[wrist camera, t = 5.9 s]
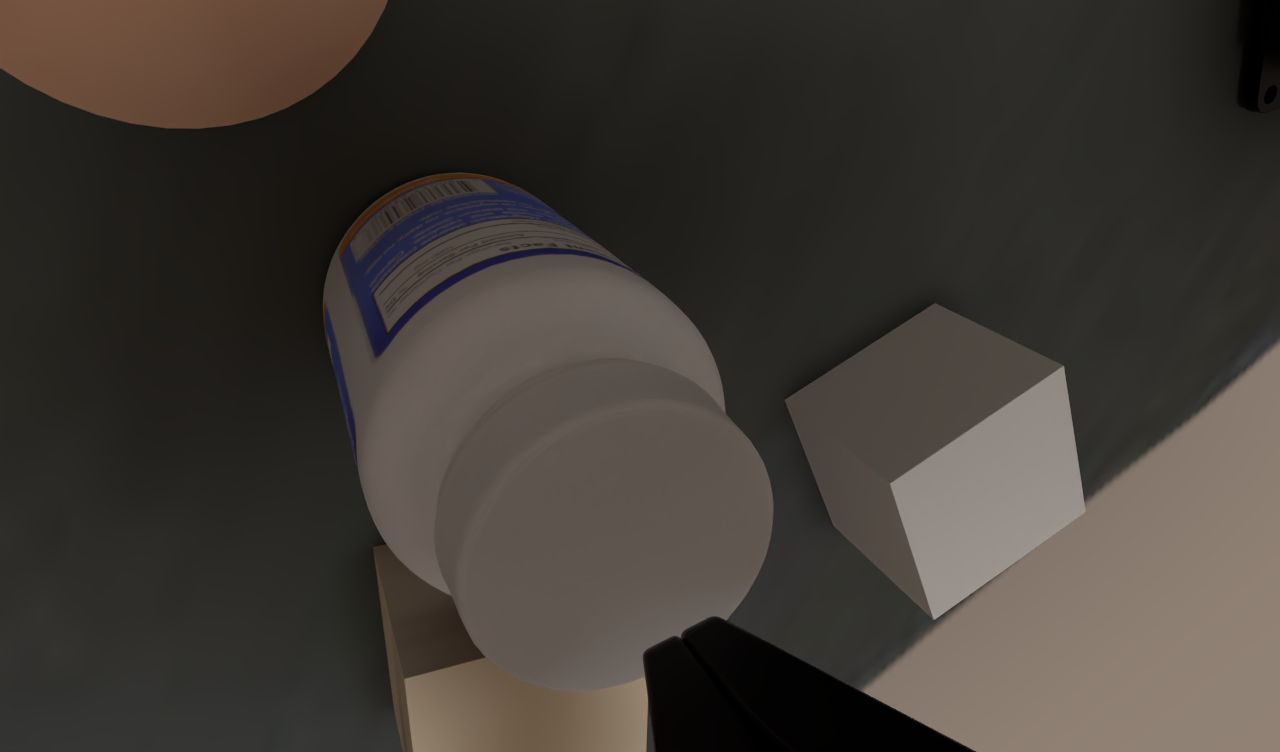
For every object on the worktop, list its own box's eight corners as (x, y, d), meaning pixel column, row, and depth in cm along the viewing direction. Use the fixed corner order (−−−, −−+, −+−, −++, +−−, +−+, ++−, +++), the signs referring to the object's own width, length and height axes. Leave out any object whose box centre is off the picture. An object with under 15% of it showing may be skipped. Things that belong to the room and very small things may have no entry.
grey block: (932, 301, 24) (1064, 365, 20) (964, 433, 26) (1085, 511, 23) (782, 398, 23) (889, 483, 19) (831, 523, 26) (933, 619, 22)
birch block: (579, 501, 22) (650, 614, 18) (580, 655, 24) (644, 785, 20) (372, 544, 20) (404, 679, 16) (393, 707, 22) (426, 859, 18)
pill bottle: (535, 428, 20) (736, 739, 12) (290, 391, 18) (339, 757, 10) (610, 205, 19) (897, 391, 11) (354, 128, 16) (478, 299, 8)
